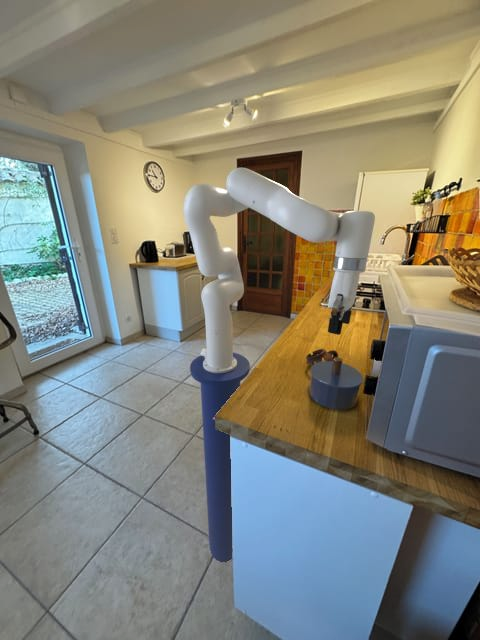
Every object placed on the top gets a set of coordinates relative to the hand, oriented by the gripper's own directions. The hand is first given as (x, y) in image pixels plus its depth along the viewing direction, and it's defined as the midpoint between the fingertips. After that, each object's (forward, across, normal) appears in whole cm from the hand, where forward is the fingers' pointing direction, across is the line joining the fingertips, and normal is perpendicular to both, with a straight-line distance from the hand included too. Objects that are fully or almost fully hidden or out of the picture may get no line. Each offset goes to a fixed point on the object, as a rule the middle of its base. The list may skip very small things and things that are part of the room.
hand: (338, 327), depth 69 cm
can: (+21, -12, +13) cm, 28 cm away
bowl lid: (+14, +1, +1) cm, 14 cm away
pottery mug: (+21, -13, -6) cm, 26 cm away
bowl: (+21, +1, +2) cm, 21 cm away
